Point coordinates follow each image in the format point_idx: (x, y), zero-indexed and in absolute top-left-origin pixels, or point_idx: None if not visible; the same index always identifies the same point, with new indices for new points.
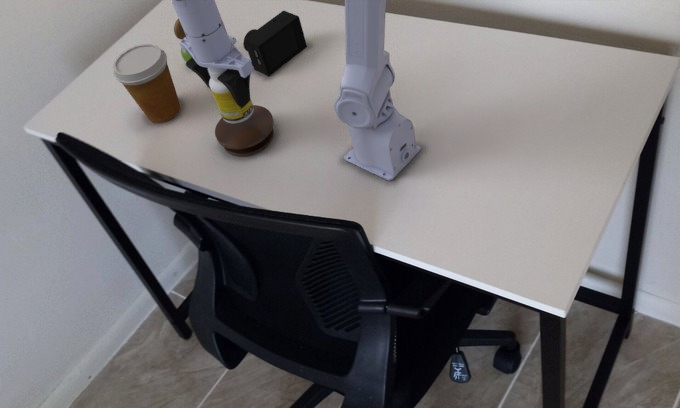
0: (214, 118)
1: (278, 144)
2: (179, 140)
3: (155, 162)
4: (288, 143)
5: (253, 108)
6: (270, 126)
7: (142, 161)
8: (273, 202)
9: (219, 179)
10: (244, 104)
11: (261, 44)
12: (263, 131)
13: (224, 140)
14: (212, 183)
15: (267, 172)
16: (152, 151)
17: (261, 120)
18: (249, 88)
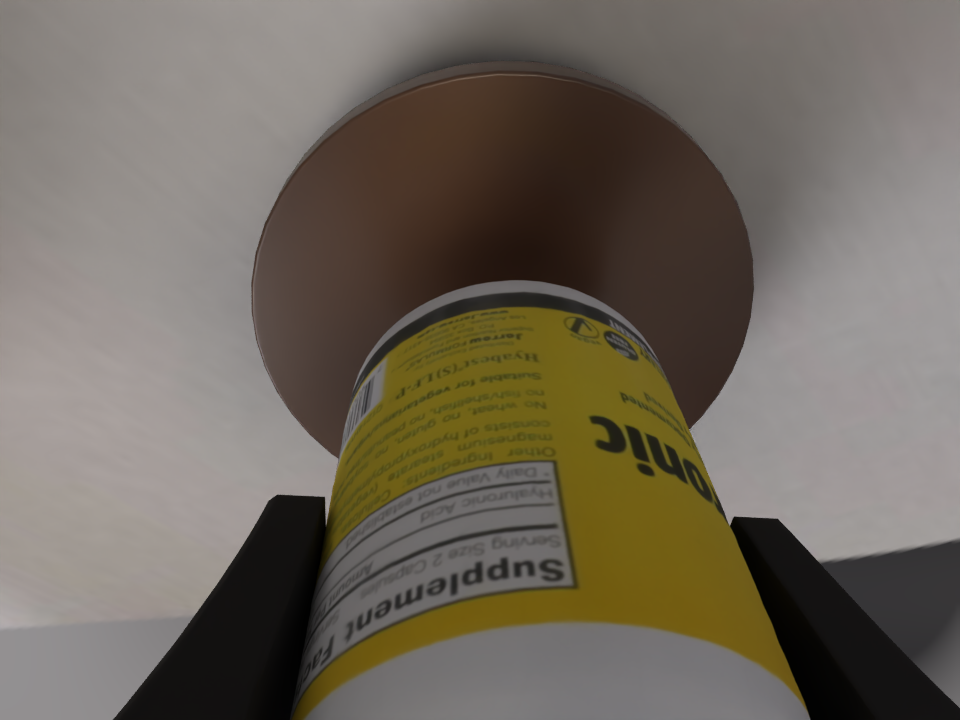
0: (69, 211)
1: (753, 223)
2: (67, 453)
3: (119, 594)
4: (826, 186)
5: (645, 341)
6: (751, 258)
7: (48, 613)
8: (920, 536)
9: None
10: None
11: None
12: (716, 320)
13: None
14: None
15: (795, 422)
16: (17, 558)
17: (626, 232)
18: (900, 651)
